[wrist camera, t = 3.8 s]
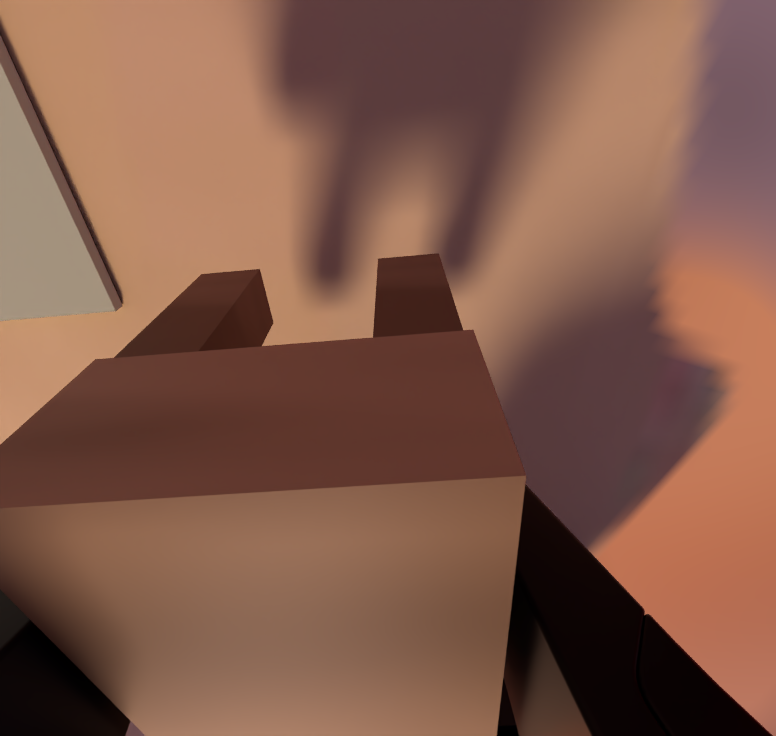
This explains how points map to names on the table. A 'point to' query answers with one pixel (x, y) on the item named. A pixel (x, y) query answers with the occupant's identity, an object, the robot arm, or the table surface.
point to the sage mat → (41, 221)
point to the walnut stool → (276, 520)
